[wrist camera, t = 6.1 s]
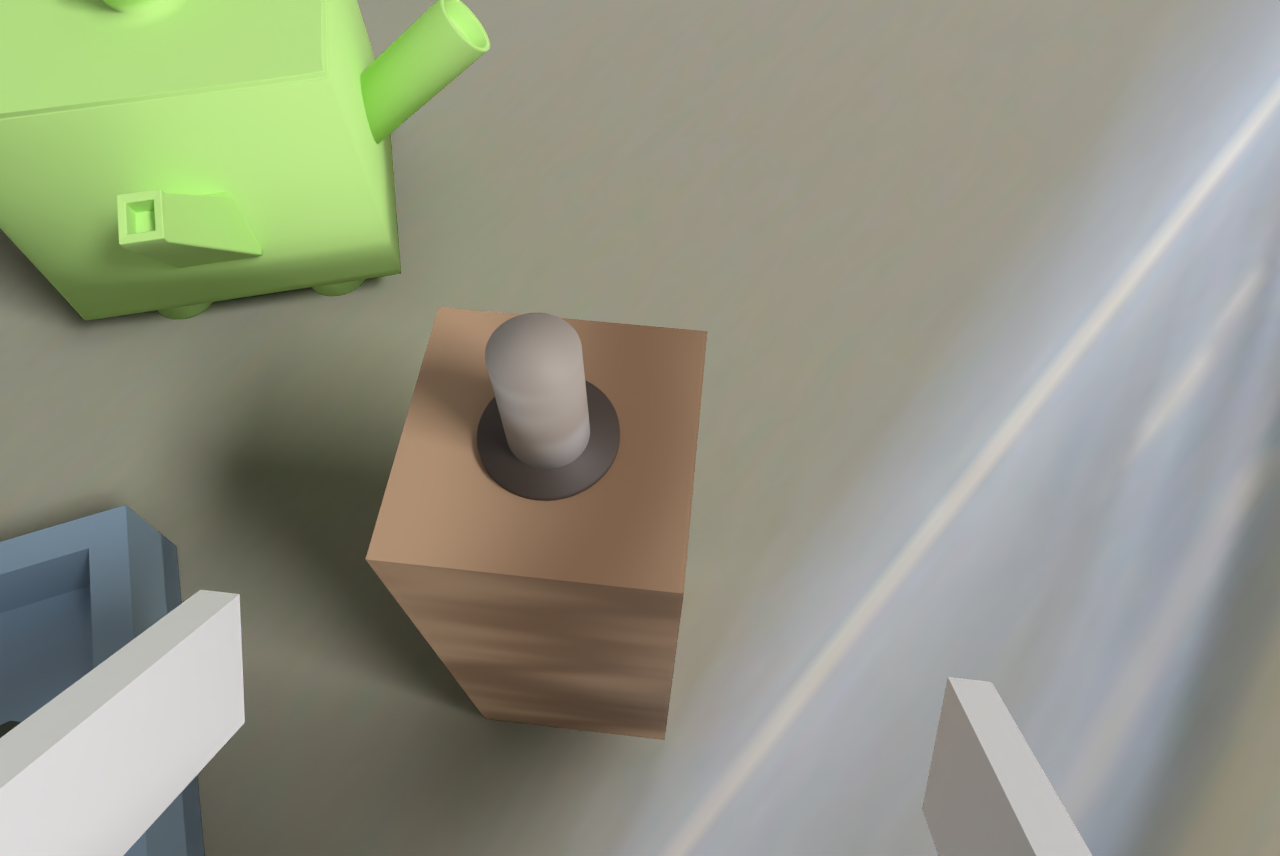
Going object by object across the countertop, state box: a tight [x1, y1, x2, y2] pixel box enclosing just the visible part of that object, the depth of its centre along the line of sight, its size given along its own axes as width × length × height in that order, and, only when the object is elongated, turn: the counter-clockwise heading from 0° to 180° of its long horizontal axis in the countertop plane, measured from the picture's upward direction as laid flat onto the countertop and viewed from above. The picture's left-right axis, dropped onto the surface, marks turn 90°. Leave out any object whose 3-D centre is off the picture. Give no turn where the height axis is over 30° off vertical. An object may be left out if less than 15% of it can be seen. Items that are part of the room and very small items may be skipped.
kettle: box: [0, 0, 490, 321], centre depth 28 cm, size 15×14×11 cm
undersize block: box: [366, 307, 707, 740], centre depth 19 cm, size 5×5×14 cm
